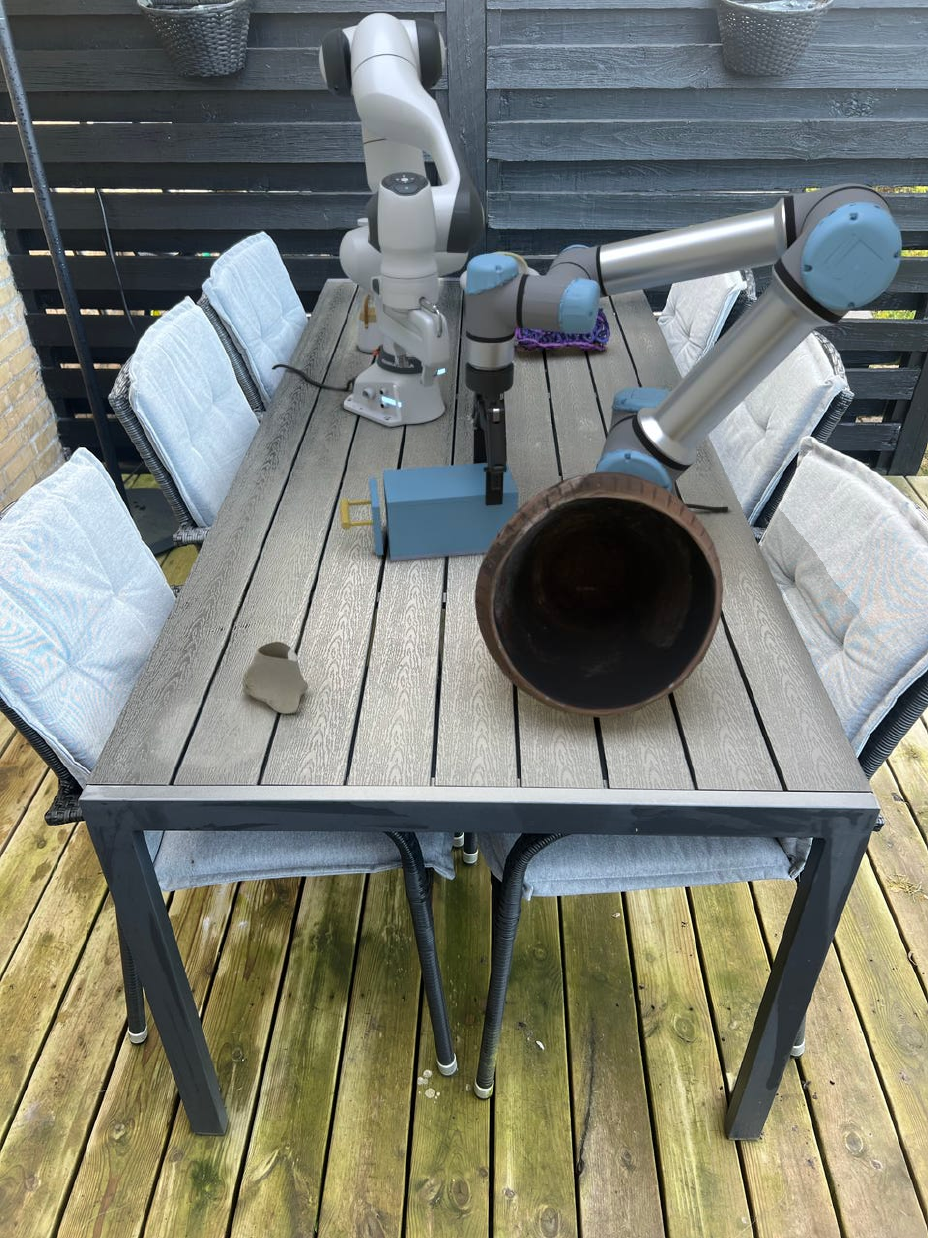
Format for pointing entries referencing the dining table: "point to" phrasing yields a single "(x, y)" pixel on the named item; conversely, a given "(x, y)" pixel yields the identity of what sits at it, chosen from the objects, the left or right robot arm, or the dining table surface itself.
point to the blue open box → (443, 511)
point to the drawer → (375, 521)
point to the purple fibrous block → (564, 337)
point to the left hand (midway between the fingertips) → (414, 375)
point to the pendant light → (368, 321)
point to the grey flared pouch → (275, 678)
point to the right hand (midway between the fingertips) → (487, 483)
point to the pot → (600, 594)
